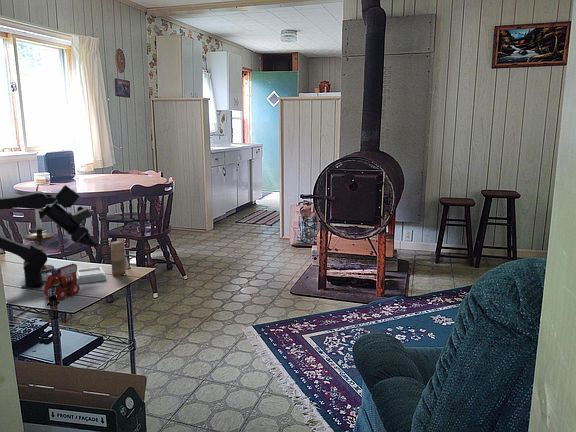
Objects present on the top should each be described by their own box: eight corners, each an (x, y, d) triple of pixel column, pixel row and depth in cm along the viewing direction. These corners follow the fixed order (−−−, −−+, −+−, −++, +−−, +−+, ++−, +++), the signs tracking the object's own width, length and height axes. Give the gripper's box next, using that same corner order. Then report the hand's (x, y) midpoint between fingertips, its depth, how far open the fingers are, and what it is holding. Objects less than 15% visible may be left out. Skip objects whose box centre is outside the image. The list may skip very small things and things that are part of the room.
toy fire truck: (39, 299, 157) (36, 270, 155) (70, 288, 168) (68, 261, 166) (52, 303, 154) (50, 273, 152) (84, 292, 165) (82, 263, 163)
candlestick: (62, 267, 193) (57, 182, 187) (46, 274, 182) (41, 185, 176) (37, 265, 194) (32, 181, 188) (20, 273, 183) (13, 184, 177)
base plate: (77, 283, 173) (76, 276, 173) (75, 276, 182) (74, 269, 181) (105, 280, 178) (105, 273, 177) (102, 272, 186) (101, 266, 186)
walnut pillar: (123, 276, 183) (122, 244, 180) (110, 276, 182) (108, 244, 180) (127, 272, 187) (125, 241, 185) (114, 272, 187) (112, 241, 185)
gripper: (79, 204, 165) (113, 232, 172) (74, 197, 181) (106, 223, 188) (56, 228, 162) (92, 255, 170) (53, 218, 179) (86, 243, 186)
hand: (94, 243), depth 179 cm, fingers open, 9 cm apart
